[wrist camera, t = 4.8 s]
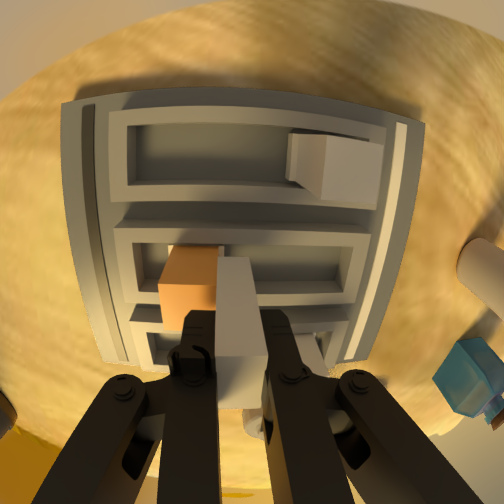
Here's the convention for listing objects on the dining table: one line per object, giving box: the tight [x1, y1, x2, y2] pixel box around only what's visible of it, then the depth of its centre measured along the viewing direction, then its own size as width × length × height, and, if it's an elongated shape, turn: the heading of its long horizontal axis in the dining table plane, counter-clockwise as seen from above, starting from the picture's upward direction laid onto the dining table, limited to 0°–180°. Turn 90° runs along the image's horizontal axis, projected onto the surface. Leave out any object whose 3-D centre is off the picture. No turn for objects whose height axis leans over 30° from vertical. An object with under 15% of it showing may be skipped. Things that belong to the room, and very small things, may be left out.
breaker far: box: [293, 332, 330, 377], centre depth 17 cm, size 3×2×5 cm
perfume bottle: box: [432, 337, 504, 431], centre depth 21 cm, size 6×6×12 cm
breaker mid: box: [158, 243, 224, 331], centre depth 14 cm, size 3×2×5 cm
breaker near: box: [285, 133, 384, 204], centre depth 12 cm, size 3×2×5 cm
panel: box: [60, 87, 425, 373], centre depth 16 cm, size 22×19×3 cm
